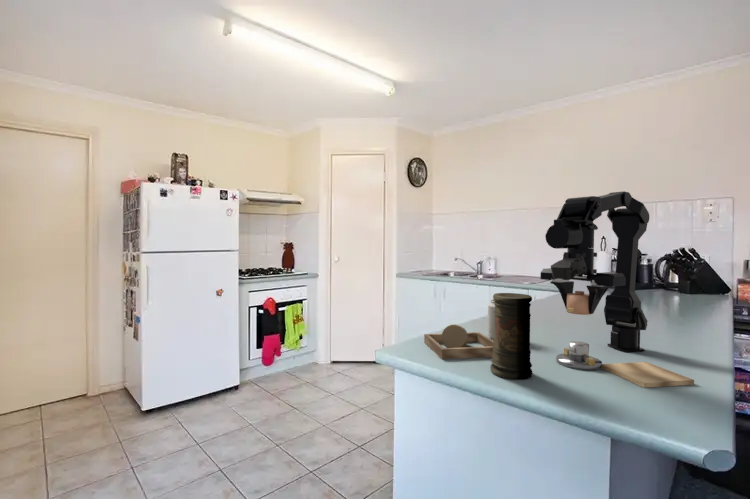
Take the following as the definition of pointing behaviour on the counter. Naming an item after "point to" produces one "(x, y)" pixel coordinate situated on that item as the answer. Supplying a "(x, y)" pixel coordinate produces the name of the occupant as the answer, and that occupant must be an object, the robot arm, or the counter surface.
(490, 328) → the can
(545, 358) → the counter surface
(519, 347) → the container
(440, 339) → the coaster frame
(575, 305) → the cap
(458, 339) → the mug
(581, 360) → the metal flange
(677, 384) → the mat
